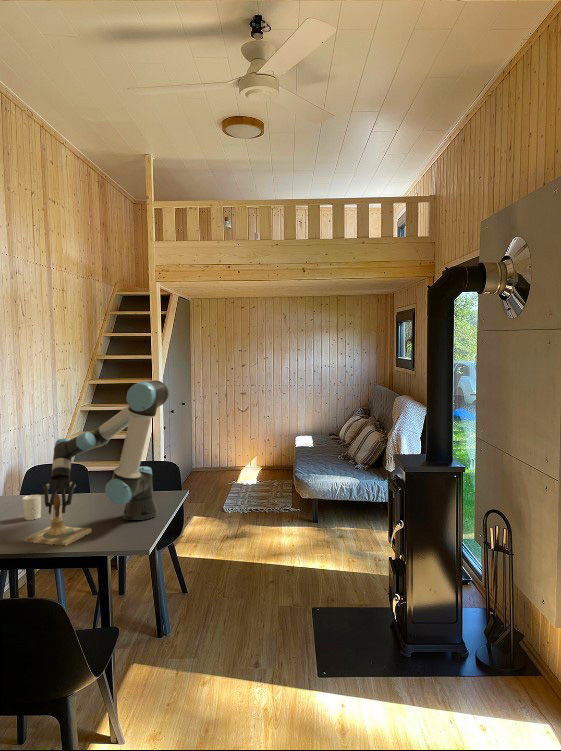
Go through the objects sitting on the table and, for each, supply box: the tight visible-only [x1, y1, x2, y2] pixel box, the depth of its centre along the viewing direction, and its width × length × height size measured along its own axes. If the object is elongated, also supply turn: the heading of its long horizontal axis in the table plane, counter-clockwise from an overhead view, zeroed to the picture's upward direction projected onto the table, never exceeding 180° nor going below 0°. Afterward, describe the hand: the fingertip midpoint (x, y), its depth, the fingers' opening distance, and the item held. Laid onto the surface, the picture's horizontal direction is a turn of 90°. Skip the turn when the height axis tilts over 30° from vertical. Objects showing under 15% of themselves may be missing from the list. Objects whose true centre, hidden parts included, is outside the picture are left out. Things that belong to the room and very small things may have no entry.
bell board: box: [24, 525, 93, 547], centre depth 225 cm, size 20×16×2 cm
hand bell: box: [47, 493, 68, 536], centre depth 224 cm, size 8×8×16 cm
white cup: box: [22, 494, 42, 521], centre depth 252 cm, size 8×8×10 cm
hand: (56, 520), depth 221 cm, fingers open, 2 cm apart
